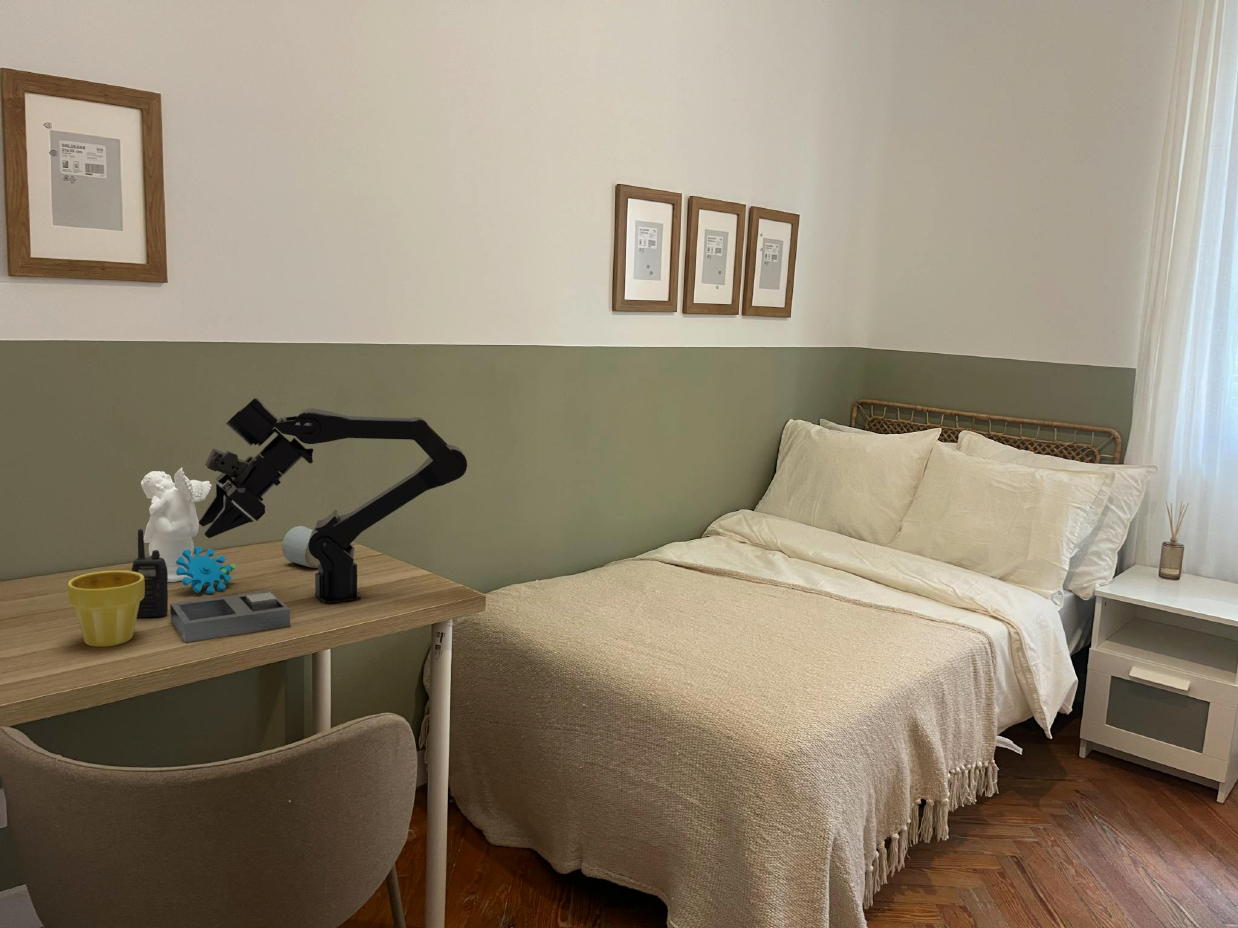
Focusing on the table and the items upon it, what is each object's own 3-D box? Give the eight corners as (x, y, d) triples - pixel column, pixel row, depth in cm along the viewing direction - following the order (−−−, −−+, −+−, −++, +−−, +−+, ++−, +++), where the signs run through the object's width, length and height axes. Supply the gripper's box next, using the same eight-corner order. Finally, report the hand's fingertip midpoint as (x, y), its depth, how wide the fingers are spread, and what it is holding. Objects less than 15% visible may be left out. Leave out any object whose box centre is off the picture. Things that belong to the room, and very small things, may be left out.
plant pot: (135, 650, 141) (133, 587, 139) (60, 652, 139) (56, 589, 137) (154, 627, 151) (152, 569, 149) (84, 629, 149) (81, 570, 147)
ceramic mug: (306, 572, 186) (307, 534, 185) (280, 565, 191) (281, 528, 190) (349, 563, 195) (349, 527, 194) (323, 556, 199) (323, 521, 198)
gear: (185, 591, 165) (172, 544, 170) (172, 609, 168) (160, 563, 172) (245, 588, 174) (231, 544, 178) (231, 605, 177) (218, 561, 181)
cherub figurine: (137, 575, 180) (131, 462, 177) (200, 564, 189) (196, 457, 186) (165, 587, 172) (160, 470, 169) (229, 575, 182) (226, 464, 179)
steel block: (270, 614, 160) (270, 592, 159) (277, 621, 157) (276, 598, 156) (246, 618, 158) (245, 595, 157) (252, 625, 154) (251, 601, 154)
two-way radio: (130, 618, 155) (126, 530, 152) (138, 610, 159) (135, 524, 157) (166, 618, 156) (163, 530, 154) (173, 609, 160) (170, 524, 158)
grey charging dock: (270, 606, 164) (269, 590, 163) (290, 626, 154) (289, 608, 154) (170, 620, 155) (170, 603, 154) (185, 642, 145) (184, 623, 144)
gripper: (228, 426, 168) (161, 489, 164) (243, 440, 152) (170, 510, 148) (274, 468, 173) (210, 530, 169) (293, 485, 157) (224, 554, 153)
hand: (203, 530), depth 160 cm, fingers open, 9 cm apart
